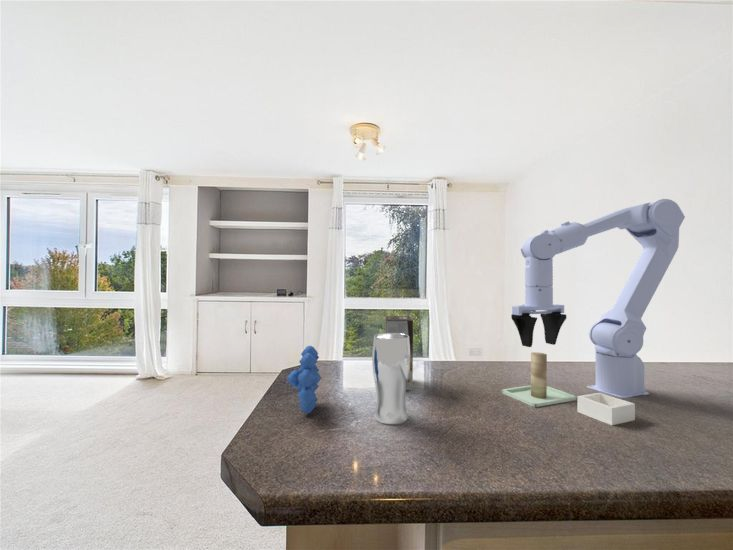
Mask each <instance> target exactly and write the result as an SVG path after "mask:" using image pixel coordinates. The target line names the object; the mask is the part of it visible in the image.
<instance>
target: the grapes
mask: <svg viewBox="0 0 733 550" xmlns="http://www.w3.org/2000/svg"><path fill="white" fill-rule="evenodd" d="M300 355H301V356H302V357H301V359H300V360H299V361H298V363H300V365H299V366H298V369H294V370H292V371H291V372H290V373H289V374H288V376H287V377H286V380H287V382H288V383H289V385H290V386H291V387H292V388H297V393H298V394H297V398H298V400H299V403H298V406H299V409H301V411H302V412H303V413H304V414H310V413H311V412H313V410H314V409H315V407H316V405H317V402H318V398H317V394H316V393H315V392H316V391H317V389H318V388H319V385H318V384H319V382H321V380H322V377H321V375H320V372H319V371H320V369H319V368H318V366H317V365H316V364H317V362H318V360H319V358H320V357H319V352H318V351H317V350H316V349H315V347H314V346H312V345H308V346H306V347H305V348H304V349H303V351H302V352H301V354H300Z"/></svg>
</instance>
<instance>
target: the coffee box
mask: <svg viewBox="0 0 733 550" xmlns="http://www.w3.org/2000/svg"><path fill="white" fill-rule="evenodd" d="M384 325H385V326H384V327H385V329H384V330H385V332H384V333H400V334H406V335H408V336H409V342H410V371H409V378H408V383H407V389H406V391H412V390H413V382H414V381H413V380H414V379H413V370H414V368H413V367H414V366H413V365H414V364H413V363H414V359H413V357H414V356H413V355H414V352H413V351H414V320H413V319H412V318H411V316H407V315H406V316H403V315H402V316H401V315H393V316H391V315H390V316H389V315H388V316H387V315H386V316H385V323H384Z"/></svg>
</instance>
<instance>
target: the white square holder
mask: <svg viewBox="0 0 733 550" xmlns="http://www.w3.org/2000/svg"><path fill="white" fill-rule="evenodd" d="M576 396H577V400H576V401H577V407H576V408H577V413H579V414H582V415H584V416H587V417H590V418H592V419H595V420H597V421H600V422H602V423H605V424H607V425H609V426H615V425H619V424H621V425H622V424H624V423H630V422H633V421H636V404H635V403H634V402H632V401H631V402H630V401H628V400H624V399H623V398H620V397H616V396H615V397H614V396H613V395H610V394H607V393H604V392H596V393H595V392H593V393H589V394H583V395H576Z"/></svg>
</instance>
